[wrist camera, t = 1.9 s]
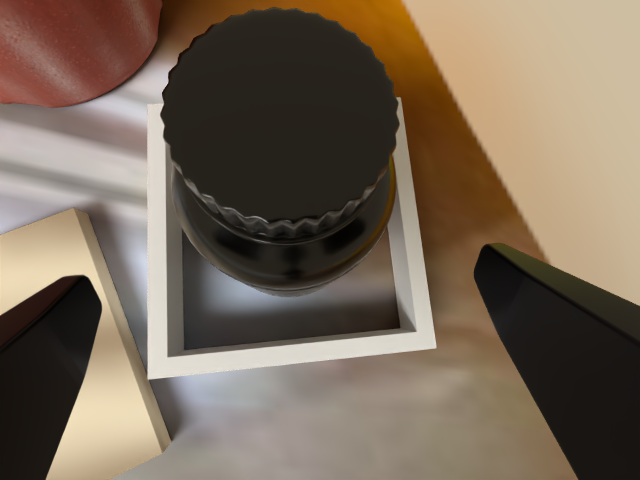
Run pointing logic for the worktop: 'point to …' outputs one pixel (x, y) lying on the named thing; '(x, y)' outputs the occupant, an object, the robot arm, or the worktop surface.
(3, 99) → the flower pot
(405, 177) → the frame
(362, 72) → the supplement bottle
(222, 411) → the worktop surface
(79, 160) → the worktop surface
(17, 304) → the robot arm
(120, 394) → the birch board
